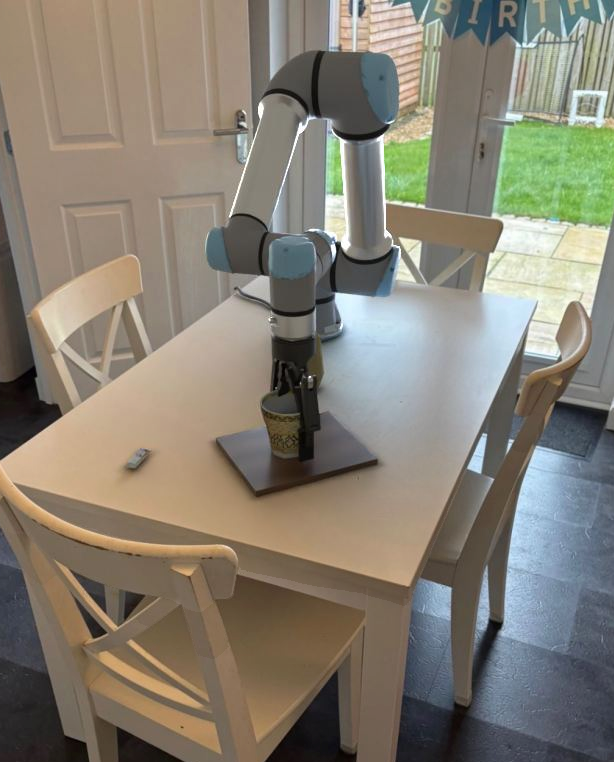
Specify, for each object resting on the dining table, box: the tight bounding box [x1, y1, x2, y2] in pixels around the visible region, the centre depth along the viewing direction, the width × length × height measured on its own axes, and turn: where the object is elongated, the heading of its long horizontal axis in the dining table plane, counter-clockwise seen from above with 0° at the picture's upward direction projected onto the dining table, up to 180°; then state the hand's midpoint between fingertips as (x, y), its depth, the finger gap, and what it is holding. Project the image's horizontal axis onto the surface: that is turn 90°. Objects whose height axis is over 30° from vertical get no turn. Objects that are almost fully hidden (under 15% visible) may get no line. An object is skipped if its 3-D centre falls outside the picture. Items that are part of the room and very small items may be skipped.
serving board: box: [215, 410, 379, 498], centre depth 146 cm, size 20×24×1 cm
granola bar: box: [123, 448, 152, 469], centre depth 143 cm, size 7×2×1 cm, turn 163°
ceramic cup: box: [259, 390, 301, 458], centre depth 143 cm, size 13×10×10 cm
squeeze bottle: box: [295, 329, 325, 391], centre depth 163 cm, size 8×8×18 cm
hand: (294, 446), depth 145 cm, fingers closed on ceramic cup, 9 cm apart
